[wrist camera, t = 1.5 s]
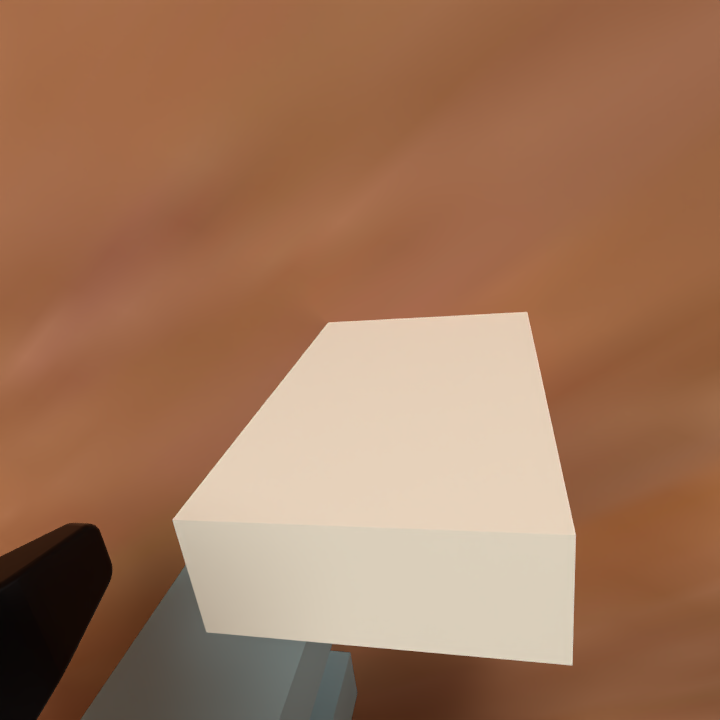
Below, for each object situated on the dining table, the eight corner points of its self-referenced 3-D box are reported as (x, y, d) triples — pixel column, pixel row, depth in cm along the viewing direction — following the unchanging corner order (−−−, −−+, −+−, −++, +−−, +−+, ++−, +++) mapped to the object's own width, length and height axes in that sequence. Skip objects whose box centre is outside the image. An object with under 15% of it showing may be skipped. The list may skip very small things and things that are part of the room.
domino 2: (327, 322, 14) (171, 520, 7) (527, 311, 13) (575, 534, 6) (338, 391, 15) (206, 632, 8) (528, 387, 14) (572, 665, 7)
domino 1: (193, 553, 19) (12, 820, 12) (334, 561, 18) (229, 863, 10) (206, 598, 20) (43, 875, 12) (342, 608, 18) (250, 921, 11)
